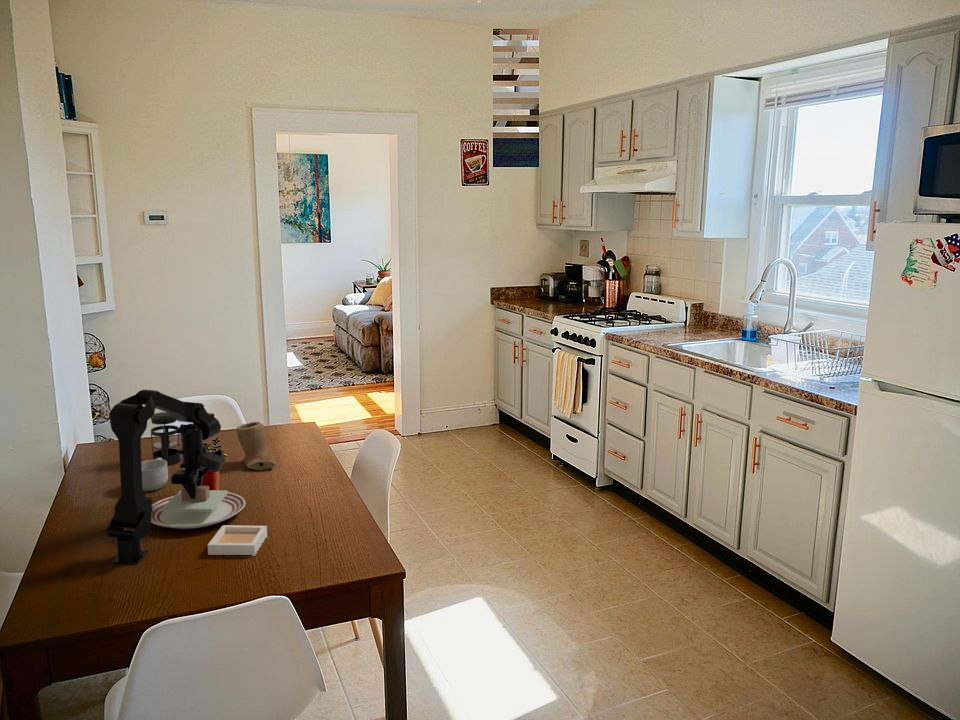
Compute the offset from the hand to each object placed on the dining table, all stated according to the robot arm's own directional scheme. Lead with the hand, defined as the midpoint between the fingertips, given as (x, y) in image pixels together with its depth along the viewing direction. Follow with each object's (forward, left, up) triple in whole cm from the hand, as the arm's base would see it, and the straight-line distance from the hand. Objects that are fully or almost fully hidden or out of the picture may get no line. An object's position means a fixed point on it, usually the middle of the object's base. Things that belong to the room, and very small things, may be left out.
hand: (195, 496), depth 213 cm
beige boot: (+44, -5, -6) cm, 45 cm away
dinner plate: (0, 0, -6) cm, 7 cm away
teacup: (+23, +22, -6) cm, 32 cm away
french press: (+46, +27, -6) cm, 54 cm away
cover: (0, 0, -2) cm, 2 cm away
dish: (-19, -18, -6) cm, 27 cm away
